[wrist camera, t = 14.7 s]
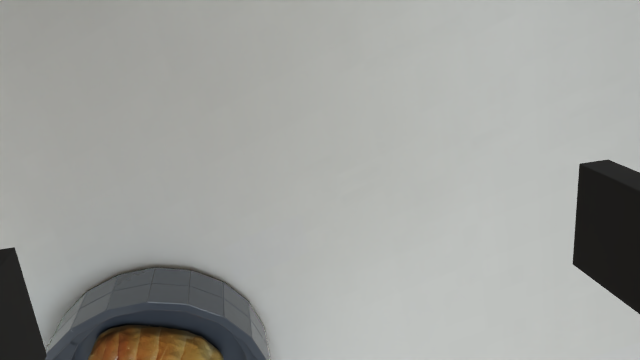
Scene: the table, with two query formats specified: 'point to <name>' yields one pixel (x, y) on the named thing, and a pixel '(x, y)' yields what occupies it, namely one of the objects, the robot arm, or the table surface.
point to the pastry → (152, 345)
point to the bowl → (163, 313)
